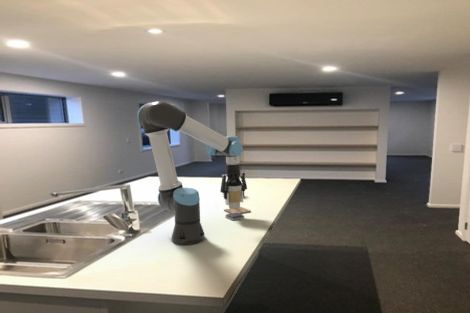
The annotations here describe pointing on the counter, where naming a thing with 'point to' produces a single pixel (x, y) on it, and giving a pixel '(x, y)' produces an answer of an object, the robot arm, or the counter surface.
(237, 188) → the coffee cup
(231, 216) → the ink pad
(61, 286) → the counter surface
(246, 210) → the board
